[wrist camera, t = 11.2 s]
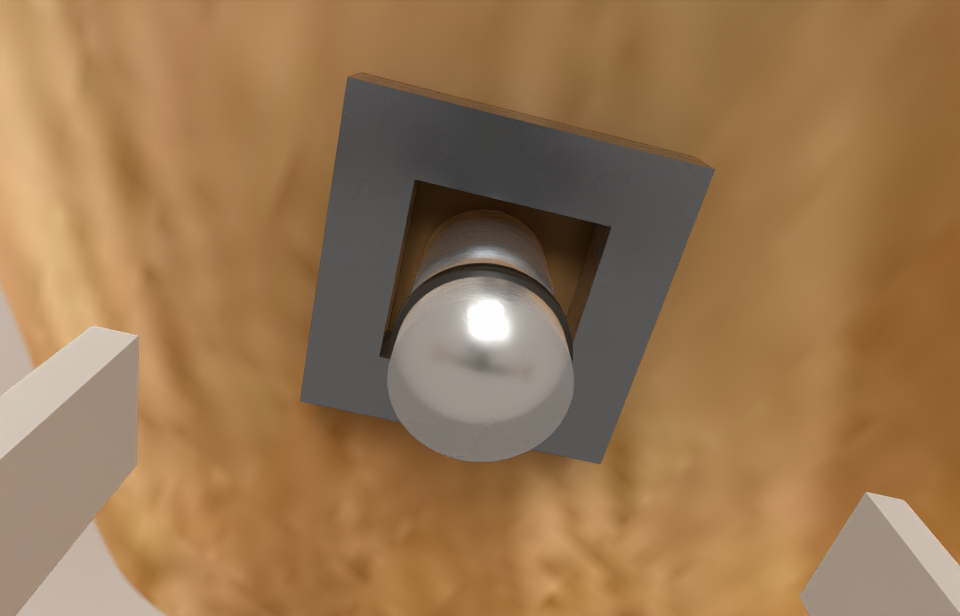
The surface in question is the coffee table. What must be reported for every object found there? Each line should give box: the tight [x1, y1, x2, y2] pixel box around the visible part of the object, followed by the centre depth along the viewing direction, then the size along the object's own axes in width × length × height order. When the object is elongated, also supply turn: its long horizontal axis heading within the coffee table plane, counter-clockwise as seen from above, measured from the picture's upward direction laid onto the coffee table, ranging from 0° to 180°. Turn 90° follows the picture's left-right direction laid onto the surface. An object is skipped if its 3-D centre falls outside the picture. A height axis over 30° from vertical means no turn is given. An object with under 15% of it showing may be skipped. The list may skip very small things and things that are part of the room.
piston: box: [387, 209, 574, 462], centre depth 19 cm, size 5×5×8 cm
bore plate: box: [300, 73, 715, 464], centre depth 21 cm, size 11×11×2 cm
